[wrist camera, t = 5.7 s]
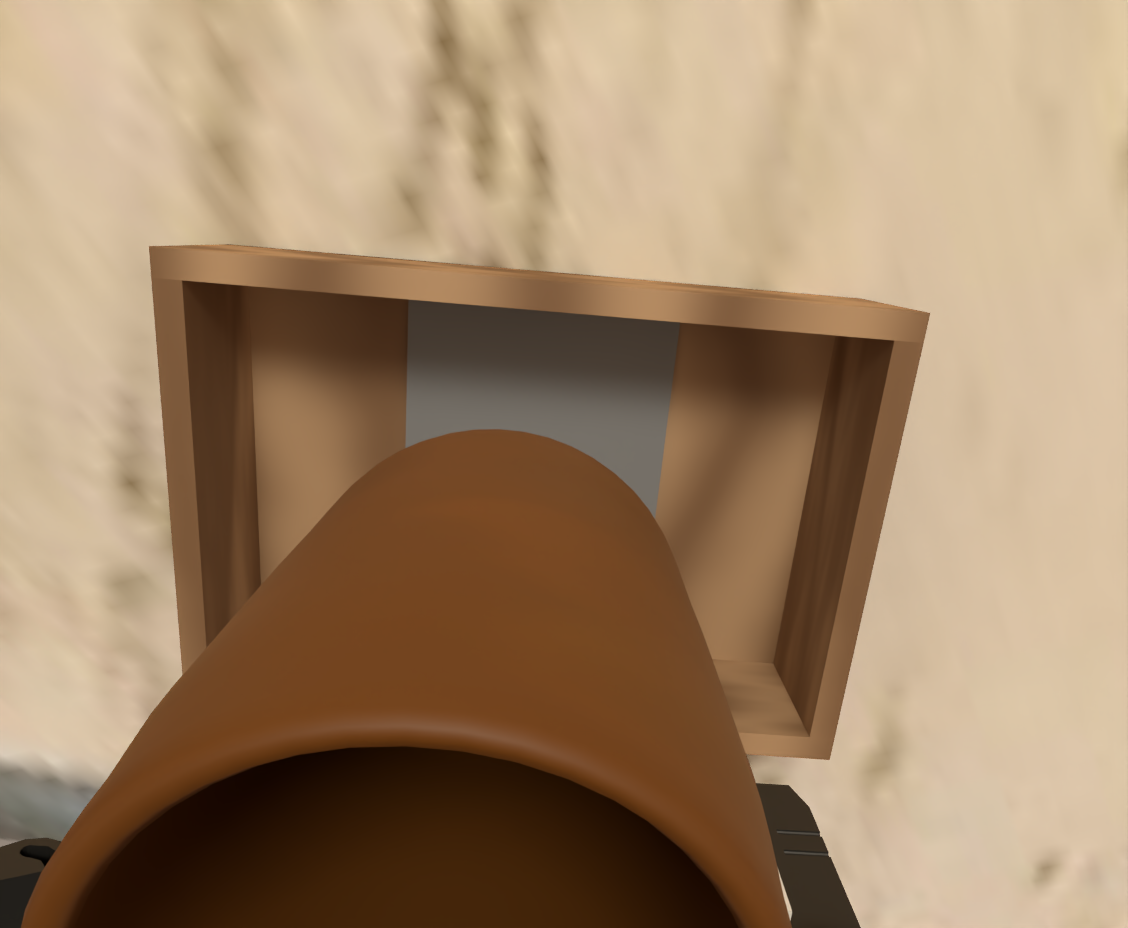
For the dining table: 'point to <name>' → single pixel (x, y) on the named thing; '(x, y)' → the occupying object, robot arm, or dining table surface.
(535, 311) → the pad
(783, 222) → the dining table surface
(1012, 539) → the dining table surface
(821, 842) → the robot arm
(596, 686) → the mug
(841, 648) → the crate
